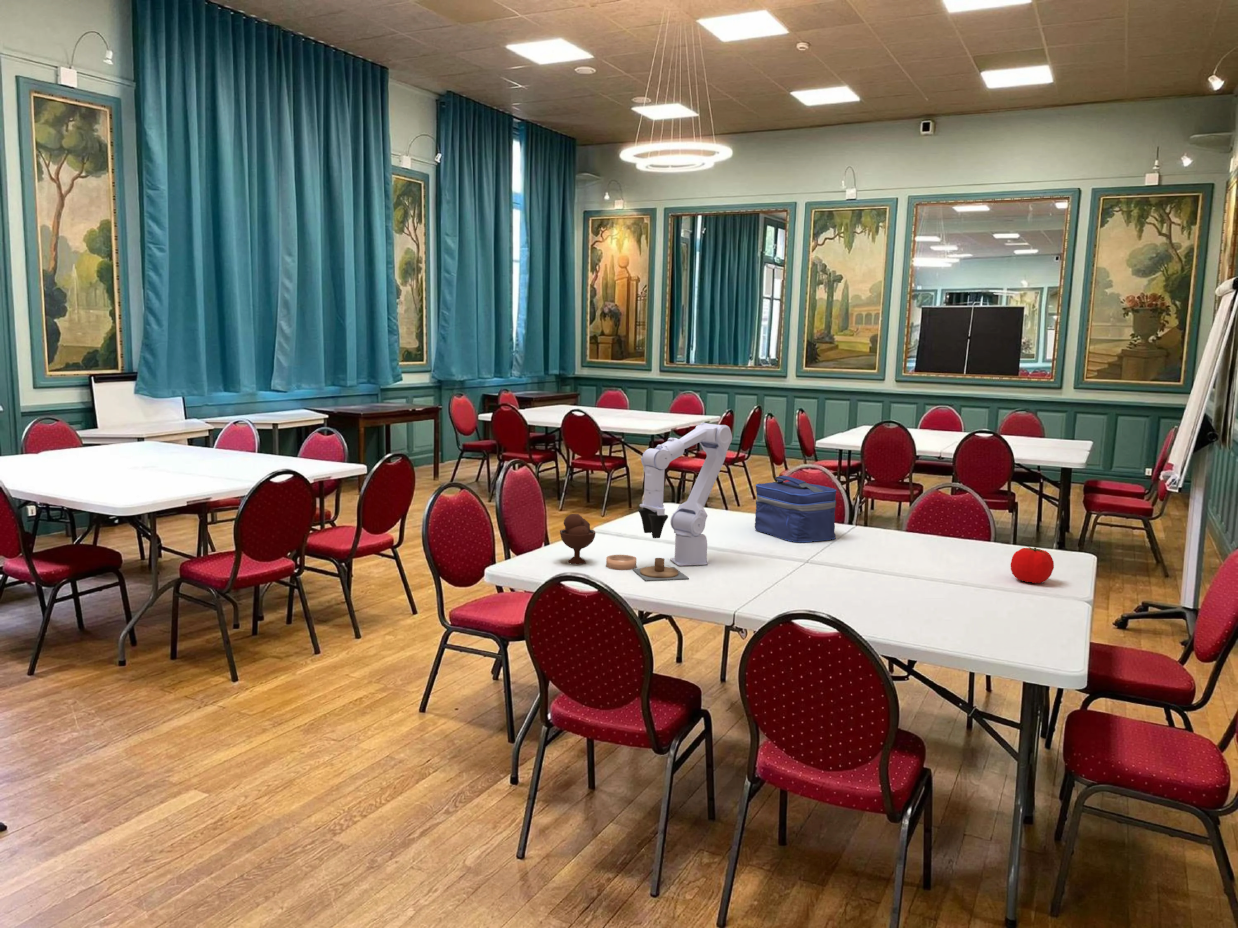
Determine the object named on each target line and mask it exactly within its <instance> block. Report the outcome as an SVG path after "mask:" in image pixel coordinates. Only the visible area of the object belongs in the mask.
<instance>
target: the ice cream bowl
mask: <svg viewBox="0 0 1238 928" xmlns="http://www.w3.org/2000/svg"><path fill="white" fill-rule="evenodd" d="M590 524H591V523H590V522H588V521H587V520H586V519H585V518H583V516H581V515H580V514H579V513H571V514H568V515H567V516H566V517H565V518H564V521H563V526H564V527H565V528H564V529H560V530H559V534H560V539H561V541H562V543H564V544H565V546H567V547H568V548H570V549H572V550H573V552H574V554H573V557H571V558H569V559H568V560H567V563H568V564H570V563H571V565H584V564H586V563H587V562H586V559H585V558H583V557H581V553H580V552H581V550H582V549H585V548H587V547H588V546H590V545H591V544H592V543H593V542H594V541H595V538H596V531H595V530H594V529H591V525H590Z"/></svg>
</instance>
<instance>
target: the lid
mask: <svg viewBox="0 0 1238 928" xmlns="http://www.w3.org/2000/svg"><path fill="white" fill-rule="evenodd" d="M670 567H671V566H665V558H664V557H655V558H654V565H651V566H644V567H642V569H640V574H641V575H643V576H646V577H651V578H672V577H676V576H677V575H678V570H679V569H677V568H676V569H677V570H676V569H674V568H670Z"/></svg>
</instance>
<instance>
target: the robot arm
mask: <svg viewBox="0 0 1238 928" xmlns="http://www.w3.org/2000/svg"><path fill="white" fill-rule="evenodd" d="M732 441H733V434H732V431H731V428H730V426H728V425H726V424H715V423H708V422H701V423H700V424H697V425H696V426H695V428H694V429H692V430H691V431H689V432H688V433H686V434H685V435H683V436H682V437H680V438H676V437H668V439H667V441H665V442H663V443H661V444H657V445H656V447H654V448H651V447H650V448H647V449H646V450H645V451H643V453H642V457H641V458H640V461H641V464H642V467H643V472H644V487H643V488H644V489H643V500H642V501H641V503H640V504H639V507H640V508H638V510H637V511H638V513H639V515H640V518H641V522H642V529H643V533H644V534H651V537H652V539H660V538H661V536H662V532H663V528H664V526H665V524H666V522H667V520H668V518H669V515H668V514H666V513H665V511H666V509H665V508H664V507H665V505H664V493H665V491H664V490H665V470H666V469H667V468H668V467H669V465H670V463H671V462H672V461H674V460H676V459H678V458H679V457H682V456H683V455H684V453H685V449H688V448H690V447H693V446H695V445H697V444H698V443H699V445H700V447H701V448H702V450H703V452H705V454H706V458H705V460H704V462H703V464H702V466H701V468H700V471H699V473H698V476H697V478H696V480H695V482H694V485H693V486H692V489H691V491H690V493H689V496H688V498H687V500H685V501H684V502H683V503H681V504H679V505H678V507H677V509H676V510H675V511H674V512H673V513H672V515H671V517H670V526H671V527H670V528H672V529H673V534H675V537H674V538H675V540H674V557H672V558H670V561H671V562H672V563H674V564H676V566H678V567H681V566H703V565H704V566H705V565H708V562H707V561H708V539H707V536H706V535H705V534H704V533H703V532H704V531H705V527H706V522H707V518H708V514H707V512H706V510H705V506H706V504H707V501H708V498H709V497H710V494H711V491H712V489H713V487H714V484H715V483H716V480H717V478H718V477H719V473H720V471H721V470H722V467H723V465H724V462H725V460H726V457H727V452H728V449H729V448H730V445H731V442H732Z"/></svg>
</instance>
